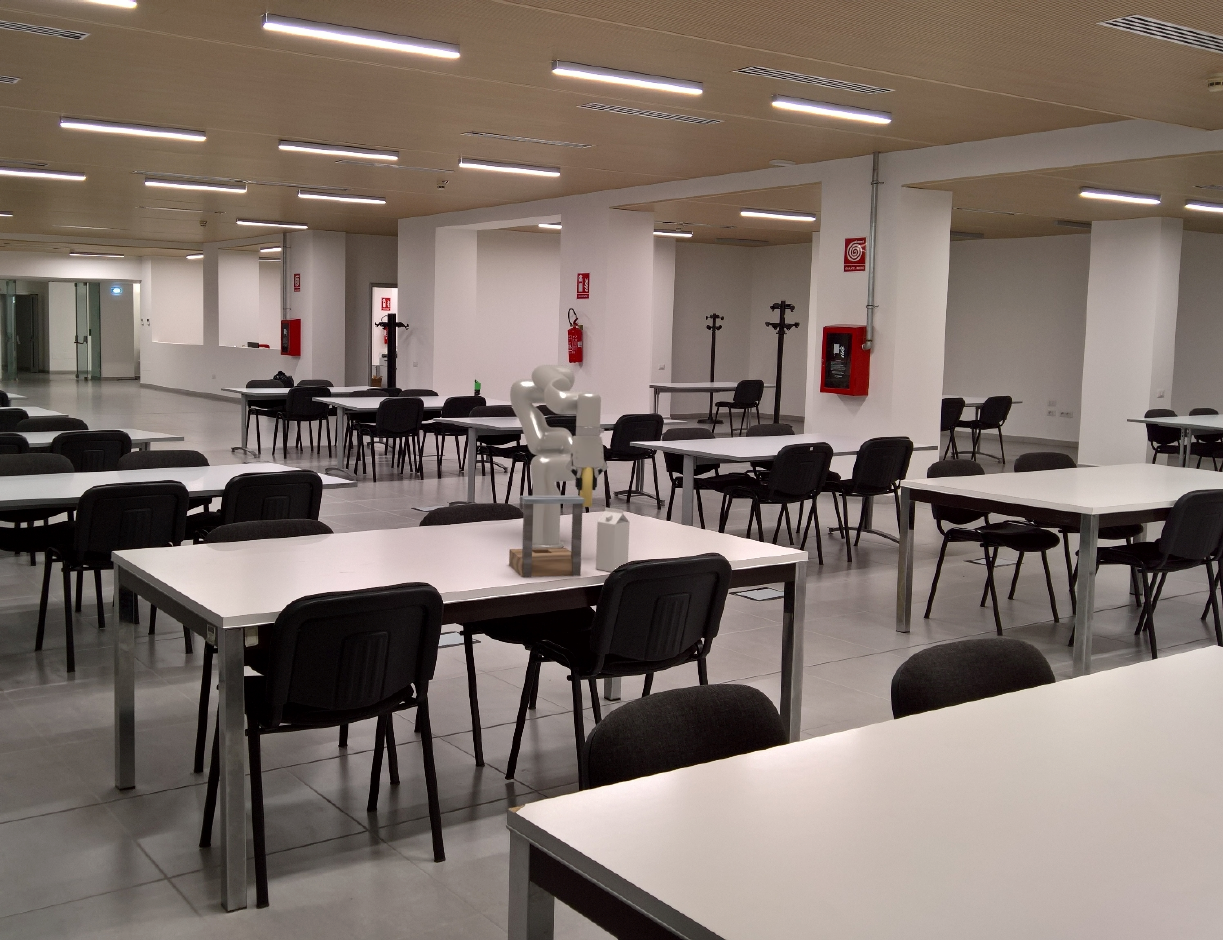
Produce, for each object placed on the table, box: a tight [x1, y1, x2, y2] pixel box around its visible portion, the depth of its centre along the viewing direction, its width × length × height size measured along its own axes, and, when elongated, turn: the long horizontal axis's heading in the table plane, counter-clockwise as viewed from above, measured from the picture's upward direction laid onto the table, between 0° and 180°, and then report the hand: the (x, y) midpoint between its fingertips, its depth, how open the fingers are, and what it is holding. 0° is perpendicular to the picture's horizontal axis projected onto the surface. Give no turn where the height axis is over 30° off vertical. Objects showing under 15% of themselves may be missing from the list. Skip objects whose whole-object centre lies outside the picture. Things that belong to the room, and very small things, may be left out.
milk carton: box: [595, 507, 630, 573], centre depth 346 cm, size 7×7×19 cm
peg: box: [579, 467, 593, 508], centre depth 355 cm, size 4×4×14 cm
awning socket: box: [508, 494, 585, 578], centre depth 340 cm, size 20×18×23 cm
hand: (586, 489), depth 355 cm, fingers closed on peg, 4 cm apart
